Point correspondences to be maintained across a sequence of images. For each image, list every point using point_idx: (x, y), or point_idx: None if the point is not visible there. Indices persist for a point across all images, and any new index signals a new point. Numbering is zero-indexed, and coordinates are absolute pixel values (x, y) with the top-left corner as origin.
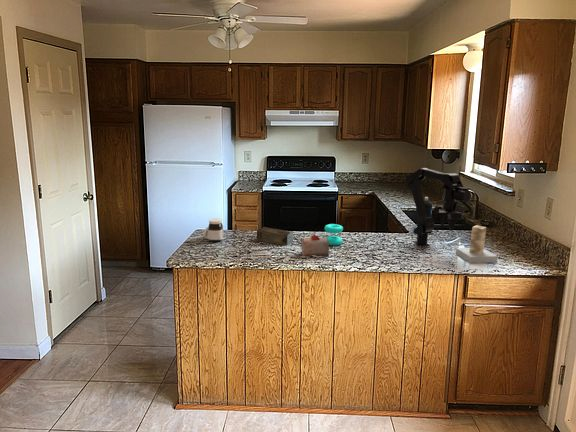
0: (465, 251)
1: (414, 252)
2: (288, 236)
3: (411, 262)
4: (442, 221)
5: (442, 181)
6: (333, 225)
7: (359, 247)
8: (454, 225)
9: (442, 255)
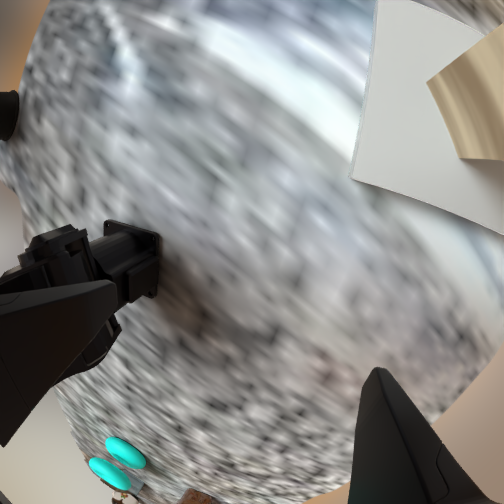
0: (440, 175)
1: (239, 376)
2: (135, 491)
3: (342, 444)
4: (70, 330)
5: None
6: (98, 471)
7: (158, 443)
8: (436, 434)
9: (340, 288)
